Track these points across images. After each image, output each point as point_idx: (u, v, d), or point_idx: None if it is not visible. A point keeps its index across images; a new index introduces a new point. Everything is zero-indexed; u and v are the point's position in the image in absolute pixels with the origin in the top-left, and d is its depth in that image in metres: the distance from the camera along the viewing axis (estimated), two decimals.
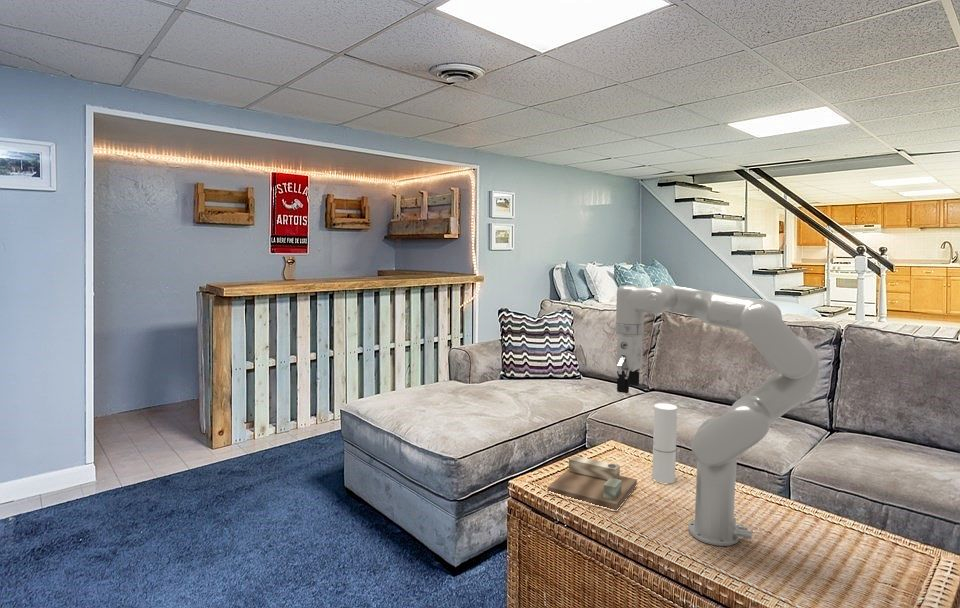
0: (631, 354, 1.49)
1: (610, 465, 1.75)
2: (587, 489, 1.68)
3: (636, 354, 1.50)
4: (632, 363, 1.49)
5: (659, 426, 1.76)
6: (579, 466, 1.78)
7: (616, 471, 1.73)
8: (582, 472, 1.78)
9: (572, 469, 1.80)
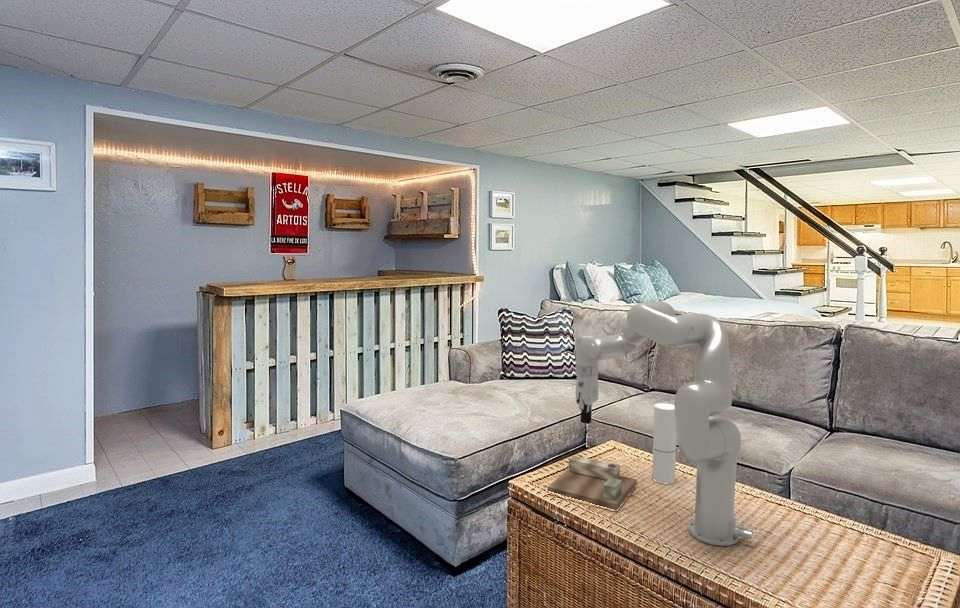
0: (587, 391, 1.80)
1: (610, 465, 1.75)
2: (587, 489, 1.68)
3: (591, 391, 1.82)
4: (588, 399, 1.80)
5: (659, 426, 1.76)
6: (579, 466, 1.78)
7: (616, 471, 1.73)
8: (582, 472, 1.78)
9: (572, 469, 1.80)
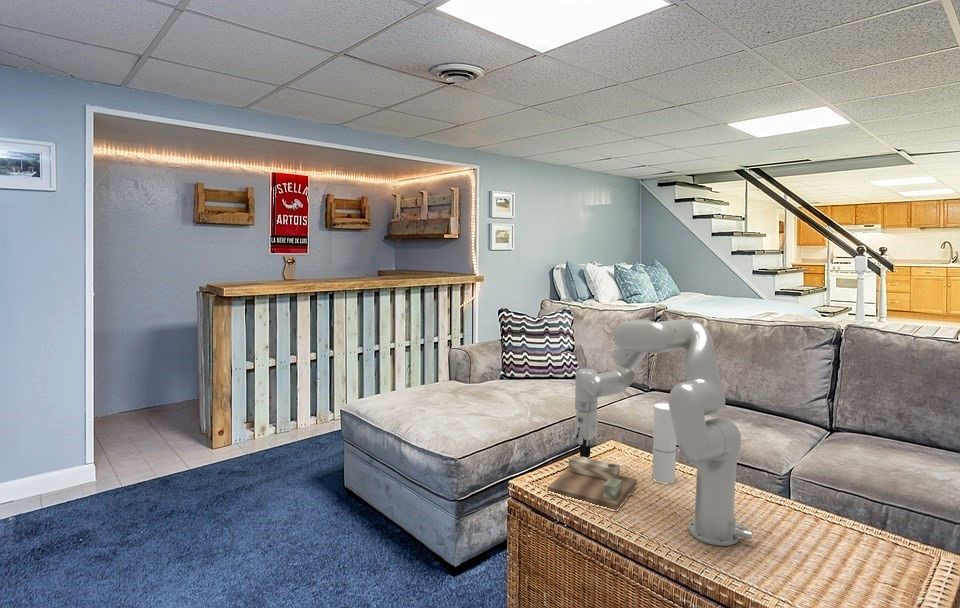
0: (586, 427, 1.82)
1: (610, 465, 1.75)
2: (587, 489, 1.68)
3: (591, 426, 1.83)
4: (587, 434, 1.82)
5: (659, 426, 1.76)
6: (579, 466, 1.78)
7: (616, 471, 1.73)
8: (582, 472, 1.78)
9: (572, 469, 1.80)
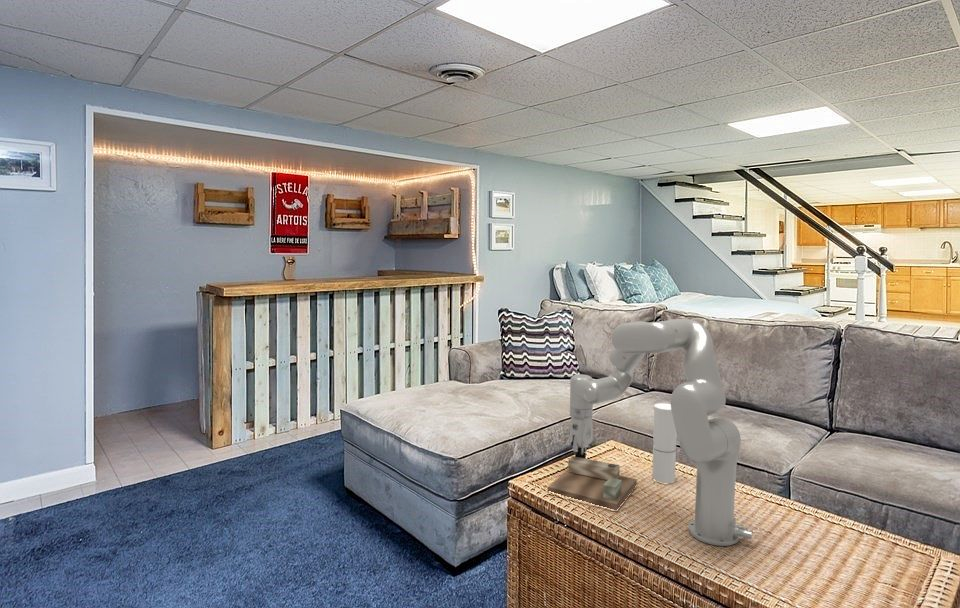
0: (581, 434, 1.78)
1: (610, 465, 1.75)
2: (587, 489, 1.68)
3: (585, 434, 1.80)
4: (581, 442, 1.78)
5: (659, 426, 1.76)
6: (579, 467, 1.78)
7: (616, 471, 1.73)
8: (582, 473, 1.78)
9: (572, 470, 1.79)
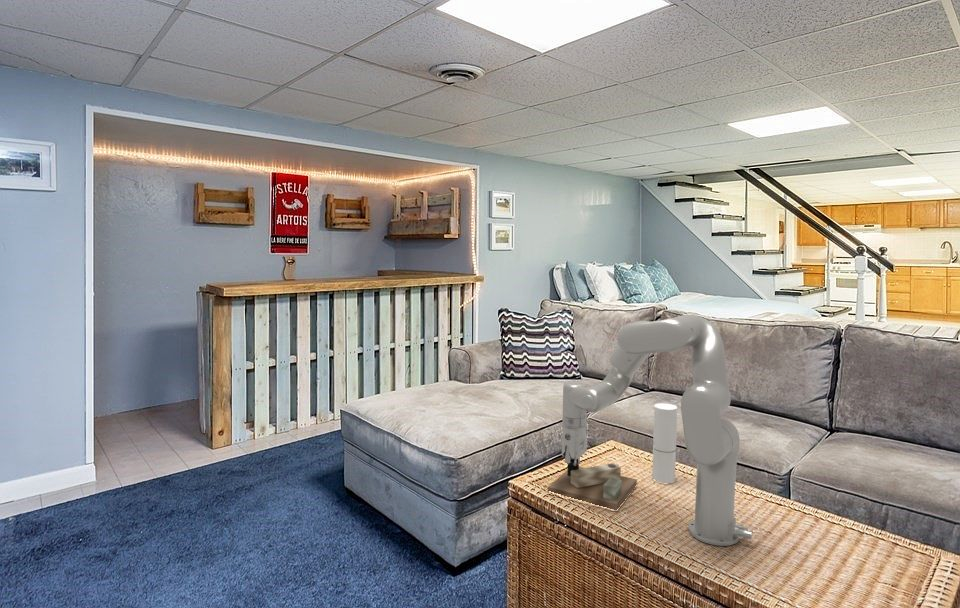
0: (573, 445, 1.68)
1: (610, 465, 1.74)
2: (587, 489, 1.68)
3: (579, 444, 1.70)
4: (574, 453, 1.68)
5: (659, 426, 1.76)
6: (588, 478, 1.69)
7: None
8: (590, 483, 1.70)
9: (581, 485, 1.68)
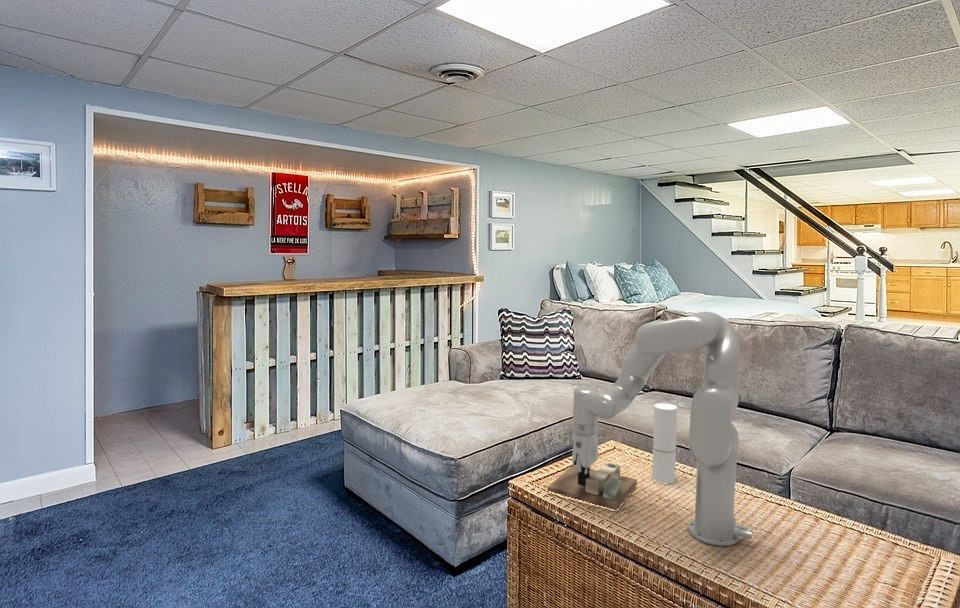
0: (585, 453, 1.61)
1: (611, 466, 1.74)
2: None
3: (590, 452, 1.63)
4: (586, 461, 1.61)
5: (659, 426, 1.76)
6: (603, 483, 1.66)
7: None
8: None
9: (599, 491, 1.64)
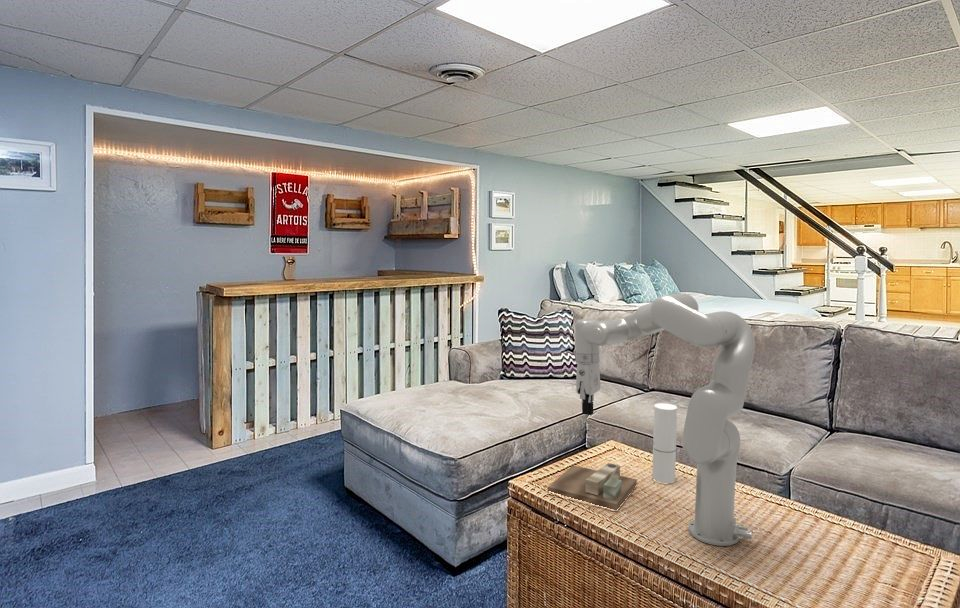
0: (588, 380, 1.69)
1: (611, 466, 1.74)
2: None
3: (593, 380, 1.71)
4: (589, 388, 1.69)
5: (659, 426, 1.76)
6: (603, 483, 1.66)
7: None
8: None
9: (599, 491, 1.64)
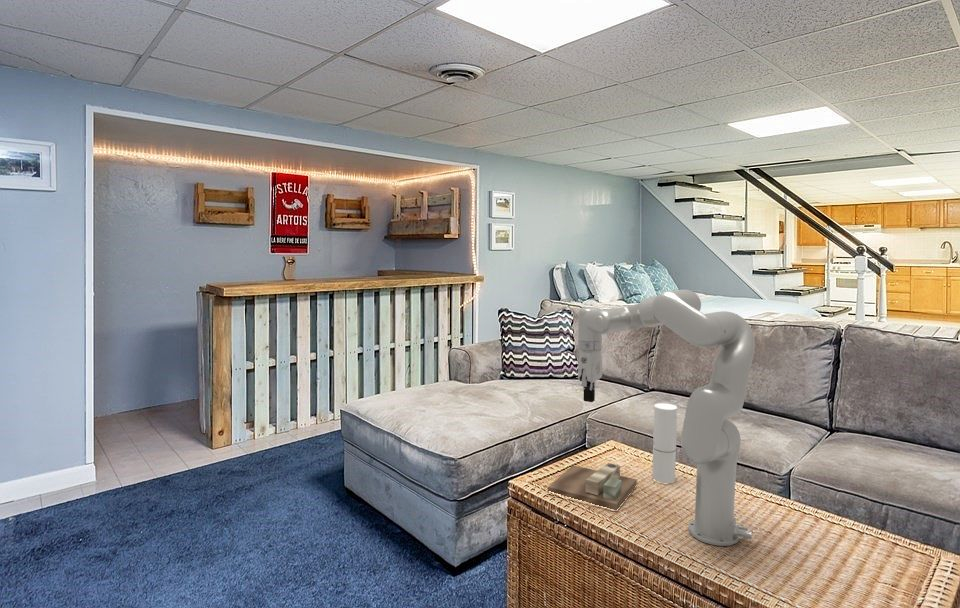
0: (590, 368, 1.70)
1: (611, 466, 1.74)
2: None
3: (595, 367, 1.72)
4: (591, 375, 1.70)
5: (659, 426, 1.76)
6: (603, 483, 1.66)
7: None
8: None
9: (599, 491, 1.64)
